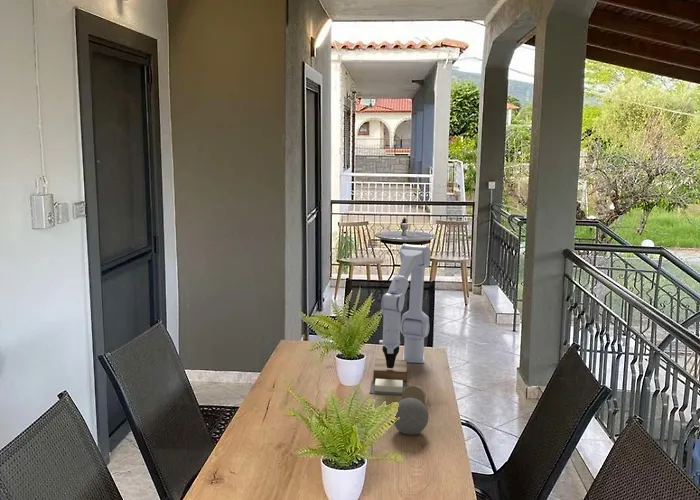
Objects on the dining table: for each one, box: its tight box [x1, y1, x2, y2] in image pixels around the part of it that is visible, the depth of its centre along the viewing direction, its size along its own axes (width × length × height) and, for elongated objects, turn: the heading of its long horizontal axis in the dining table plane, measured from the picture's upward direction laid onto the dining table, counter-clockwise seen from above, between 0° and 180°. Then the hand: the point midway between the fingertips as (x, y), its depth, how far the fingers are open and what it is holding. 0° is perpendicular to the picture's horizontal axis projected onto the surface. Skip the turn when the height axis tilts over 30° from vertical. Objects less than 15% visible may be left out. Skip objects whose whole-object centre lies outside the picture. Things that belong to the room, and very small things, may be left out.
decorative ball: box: [393, 398, 429, 436], centre depth 182 cm, size 10×10×10 cm
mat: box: [369, 380, 408, 397], centre depth 215 cm, size 11×12×1 cm
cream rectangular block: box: [375, 379, 403, 393], centre depth 214 cm, size 6×9×2 cm, turn 85°
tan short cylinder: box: [401, 384, 427, 405], centre depth 202 cm, size 8×10×10 cm
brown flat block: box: [372, 358, 408, 383], centre depth 226 cm, size 12×11×4 cm
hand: (390, 367), depth 221 cm, fingers closed
